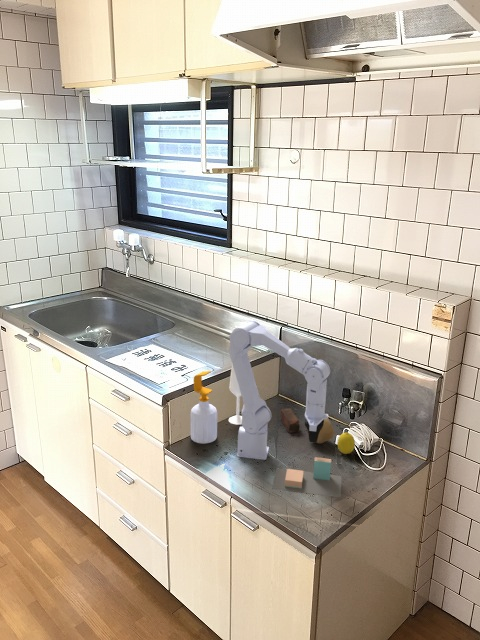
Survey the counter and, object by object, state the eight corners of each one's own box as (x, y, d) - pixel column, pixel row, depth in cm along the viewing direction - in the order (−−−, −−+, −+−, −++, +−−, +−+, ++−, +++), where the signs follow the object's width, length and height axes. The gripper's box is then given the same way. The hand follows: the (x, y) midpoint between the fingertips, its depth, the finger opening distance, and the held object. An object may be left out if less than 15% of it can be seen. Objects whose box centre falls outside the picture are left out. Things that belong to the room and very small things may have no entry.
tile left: (286, 475, 171) (284, 486, 165) (287, 468, 170) (285, 479, 164) (303, 477, 170) (301, 488, 164) (303, 470, 169) (302, 482, 164)
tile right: (313, 478, 169) (314, 461, 168) (313, 474, 171) (314, 457, 170) (329, 480, 169) (331, 463, 167) (329, 476, 171) (331, 459, 169)
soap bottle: (207, 447, 186) (207, 379, 179) (185, 439, 191) (184, 372, 183) (222, 435, 193) (223, 370, 186) (200, 428, 198) (200, 364, 190)
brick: (279, 419, 206) (280, 408, 204) (290, 419, 207) (290, 407, 205) (288, 434, 196) (289, 422, 195) (299, 433, 197) (300, 421, 196)
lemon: (353, 459, 181) (355, 437, 178) (336, 457, 182) (338, 435, 179) (353, 451, 186) (355, 429, 184) (336, 448, 187) (338, 427, 185)
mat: (272, 489, 164) (272, 488, 164) (276, 469, 174) (276, 468, 174) (340, 498, 161) (341, 497, 161) (341, 477, 171) (341, 476, 171)
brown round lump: (300, 437, 194) (302, 411, 190) (323, 433, 197) (325, 408, 194) (313, 450, 186) (315, 423, 182) (336, 446, 189) (339, 419, 186)
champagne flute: (234, 426, 200) (236, 364, 193) (225, 418, 206) (226, 357, 198) (250, 421, 204) (252, 360, 196) (240, 414, 209) (242, 354, 202)
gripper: (328, 413, 159) (324, 455, 163) (330, 392, 173) (327, 431, 177) (303, 410, 160) (300, 452, 165) (307, 389, 174) (305, 428, 178)
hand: (313, 441), depth 171 cm, fingers closed
